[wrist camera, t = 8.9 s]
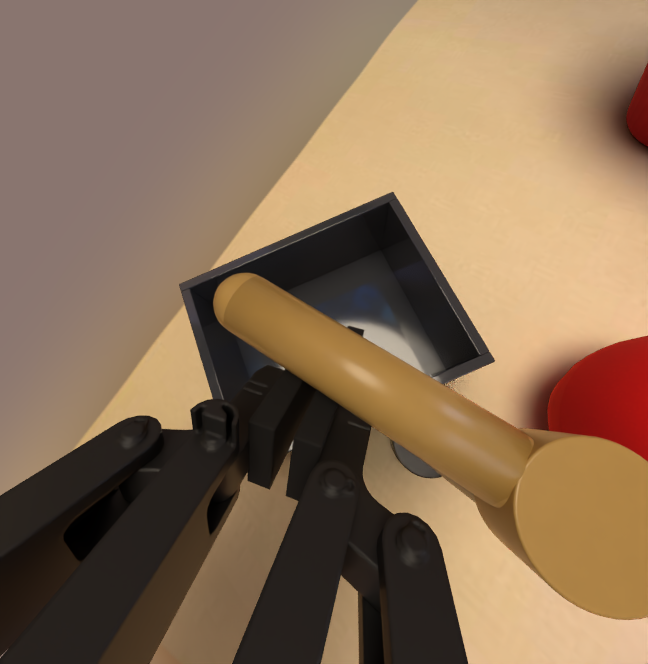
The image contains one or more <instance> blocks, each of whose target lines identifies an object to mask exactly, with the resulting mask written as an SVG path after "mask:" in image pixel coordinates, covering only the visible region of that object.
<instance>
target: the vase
mask: <svg viewBox="0 0 648 664" xmlns="http://www.w3.org/2000/svg"><path fill="white" fill-rule="evenodd" d="M626 120H627V125H628V128H629V130H630V132H631V133H632V135H633V136H634V137H635V138H636V139H637V140H638V141H639V142H641V143H642V144H644V145H645V146H647V147H648V63H647V66H646V68H645V70H644V72H643V75H642V77H641V79H640V82H639V84H638V86H637V89H636V91H635V93H634V96H633V98H632V100H631V103H630V105H629V108H628V111H627V116H626Z"/></svg>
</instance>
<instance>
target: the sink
mask: <svg viewBox="0 0 648 664" xmlns="http://www.w3.org/2000/svg"><path fill="white" fill-rule="evenodd" d="M238 273H252V274H256V275H258V276H260V277H262V278H264V279H266V280H268V281H269V282H271V283H273V284H274V285H276V286H278V287H279V288H281V289H283V290H284V291H286V292H288V293H289V294H291V295H293V296H295V297H296V298H298V299H300V300H301V301H303V302H305V303H306V304H308V305H310V306H311V307H313V308H315V309H317V310H318V311H320V312H322V313H323V314H325V315H327V316H328V317H330V318H332V319H333V320H335V321H337V322H338V323H340V324H342V325H344V326H345V327H348V325H349V326H352V327H356V328H360V329H363V330H365V331H364V335H363V337H364V338H365V339H367V340H369V341H371V342H372V343H374V344H376V345H377V346H379V347H381V348H382V349H384V350H386V351H387V352H389V353H391V354H392V355H394V356H396V357H398V358H399V359H401V360H403V361H404V362H406V363H408V364H409V365H411V366H413V367H414V368H416V369H418V370H420V371H421V372H423V373H425V374H426V375H428V376H430V377H431V378H433V379H435V380H436V381H438V382H440V383H441V384H445V383H448V382H450V381H452V380H454V379H457V378H459V377H461V376H464V375H466V374H468V373H470V372H473V371H475V370H477V369H479V368H482V367H484V366H486V365H489V364H491V363H493V362H495V360H494V358H493V357H492V355H491V353H490V352H489V350H488V348H487V346H486V345H485V343H484V341H483V340H482V338H481V336H480V335H479V333H478V331H477V330H476V328H475V326H474V325H473V323H472V321H471V320H470V318H469V316H468V315H467V313H466V311H465V310H464V308H463V307H462V305H461V303H460V302H459V300H458V298H457V297H456V295H455V293H454V292H453V290H452V288H451V287H450V285H449V283H448V282H447V280H446V278H445V277H444V275H443V273H442V272H441V270H440V268H439V267H438V265H437V263H436V262H435V260H434V258H433V257H432V255H431V254H430V252H429V250H428V249H427V247H426V245H425V244H424V242H423V240H422V239H421V237H420V235H419V234H418V232H417V230H416V229H415V227H414V225H413V224H412V222H411V220H410V219H409V217H408V215H407V214H406V212H405V210H404V209H403V207H402V205H401V204H400V202H399V201H398V199H397V197H396V196H395V194H394V192H391V193H389V194H386V195H384V196H382V197H379V198H377V199H375V200H372V201H370V202H368V203H366V204H363V205H361V206H359V207H356V208H354V209H352V210H349V211H347V212H345V213H342V214H340V215H338V216H335V217H333V218H331V219H329V220H326V221H324V222H322V223H319V224H317V225H315V226H312V227H310V228H308V229H305V230H303V231H301V232H299V233H296V234H294V235H292V236H289V237H287V238H285V239H282V240H280V241H278V242H275V243H273V244H271V245H269V246H266V247H264V248H262V249H259V250H257V251H255V252H252V253H250V254H248V255H245V256H243V257H241V258H238V259H236V260H234V261H232V262H229V263H227V264H225V265H222V266H220V267H218V268H215V269H213V270H211V271H209V272H206V273H204V274H202V275H199V276H197V277H195V278H192V279H190V280H188V281H185V282H183V283H181V284H179V286H180V289H181V293H182V296H183V300H184V303H185V306H186V310H187V313H188V317H189V320H190V323H191V327H192V330H193V333H194V337H195V340H196V343H197V347H198V350H199V353H200V357H201V360H202V363H203V367H204V370H205V373H206V377H207V380H208V383H209V387H210V390H211V393H212V397H213V399H223V400H227V401H229V402H231V400H232V399H233V398H234V397H235V396H236V394H237V393H238V392H239V391H240V390H241V389H242V388H243V386H244V385H245V384H246V383H247V382H248V381H249V379H250V378H251V377H252V376H253V374H254V373H255V372H256V371H257V370H259V369H261V368H263V367H265V366H267V365H269V366H273V367H276V368H279V369H282V370H285V368H283V367H282V366H280V365H279V364H277V363H276V362H274V361H273V360H271V359H270V358H268V357H267V356H265V355H264V354H262V353H261V352H259V351H258V350H256V349H255V348H253V347H252V346H250V345H249V344H247V343H246V342H244V341H243V340H241V339H240V338H238V337H237V336H235V335H234V334H232V333H231V332H229V331H228V330H227V329H226V328H224V327H223V326H222V325H221V324H220V322H219V321H218V319H217V317H216V315H215V313H214V307H213V300H214V295H215V292H216V290H217V288H218V287H219V285H220V284H221V283H222V282H223V281H224V280H225V279H227V278H228V277H230V276H232V275H235V274H238ZM292 446H293V442H292V444H291V446H290V448H289V450H288V452H291V451H292ZM288 452H287V453H288Z"/></svg>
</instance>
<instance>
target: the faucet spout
mask: <svg viewBox="0 0 648 664" xmlns="http://www.w3.org/2000/svg"><path fill="white" fill-rule="evenodd" d="M213 307H214V313H215V315H216V317H217V319H218V321H219V322H220V324H221V325H222V326H223V327H224V328H226V329H227V330H228V331H229V332H231V333H232V334H234V335H235V336H237V337H238V338H240V339H241V340H243V341H244V342H246V343H247V344H249V345H250V346H252V347H253V348H255V349H256V350H258V351H259V352H261V353H262V354H264V355H265V356H267V357H268V358H270V359H271V360H273V361H274V362H276V363H277V364H279V365H280V366H282V367H283V368H285V369H286V370H288V371H289V372H291V373H292V374H294V375H295V376H297V377H298V378H300V379H301V380H303V381H304V382H306V383H307V384H309V385H310V386H312V387H313V388H315V389H316V390H318V391H319V392H321V393H322V394H324V395H326V396H327V397H329V398H330V399H332V400H333V401H335V402H336V403H338V404H339V405H341V406H342V407H344V408H345V409H347V410H348V411H350V412H351V413H353V414H354V415H356V416H357V417H359V418H360V419H362V420H363V421H365V422H366V423H368V424H369V425H371V426H372V427H374V428H375V429H377V430H378V431H380V432H381V433H383V434H384V435H386V436H387V437H389V438H390V439H392V440H393V441H395V442H396V443H398V444H399V445H401V446H402V447H404V448H405V449H407V450H408V451H410V452H411V453H413V454H414V455H416V456H417V457H419V458H420V459H422V460H423V461H425V462H426V463H428V464H429V465H431V466H432V467H434V468H435V469H437V470H438V471H440V472H441V473H443V474H444V475H446V476H447V477H449V478H450V479H452V480H453V481H455V482H456V483H458V484H459V485H461V486H462V487H464V488H465V489H467V490H468V491H470V492H471V493H473V494H474V498H475V501H476V505H477V507H478V510H479V512H480V514H481V516H482V518H483V520H484V522H485V523H486V525H487V526H488V528H489V529H490V530H491V531H492V533H493V534H494V535H495V536H496V537H497V538H498V539H499V540H500V541H501V542H502V543H503V544H504V545H505V546H507V547H508V548H509V549H510V550H511V551H512V552H513V553H514V554H515V555H516V556H517V557H519V558H520V559H521V560H522V561H523V562H524V563H525V564H526V565H527V566H528V567H529V568H531V569H532V570H533V571H534V572H535V573H536V574H537V575H538V576H539V577H540V578H541V579H543V580H544V581H545V582H546V583H547V584H548V585H549V586H550V587H551V588H552V589H553V590H555V591H556V592H557V593H558V594H560V595H561V596H562V597H563V598H565V599H566V600H568V601H569V602H571V603H573V604H574V605H576V606H577V607H580V608H582V609H584V610H586V611H588V612H590V613H593V614H596V615H600V616H603V617H607V618H613V619H621V620H633V619H642V618H646V617H648V462H647V461H646V460H645V459H644V458H642V457H641V456H640V455H638V454H636V453H635V452H633V451H632V450H630V449H628V448H626V447H624V446H622V445H620V444H618V443H615V442H613V441H610V440H607V439H603V438H599V437H594V436H586V435H578V434H570V433H562V432H554V431H546V430H538V429H530V428H519V429H517V428H516V427H514V426H512V425H511V424H509V423H507V422H506V421H504V420H502V419H501V418H499V417H497V416H495V415H494V414H492V413H490V412H489V411H487V410H485V409H484V408H482V407H480V406H479V405H477V404H475V403H474V402H472V401H470V400H468V399H467V398H465V397H463V396H462V395H460V394H458V393H457V392H455V391H453V390H452V389H450V388H448V387H447V386H445V385H443V384H441V383H440V382H438V381H436V380H435V379H433V378H431V377H430V376H428V375H426V374H425V373H423V372H421V371H420V370H418V369H416V368H414V367H413V366H411V365H409V364H408V363H406V362H404V361H403V360H401V359H399V358H398V357H396V356H394V355H392V354H391V353H389V352H387V351H386V350H384V349H382V348H381V347H379V346H377V345H376V344H374V343H372V342H371V341H369V340H367V339H365V338H364V337H362V336H360V335H359V334H357V333H355V332H354V331H352V330H350V329H349V328H347V327H345V326H344V325H342V324H340V323H338V322H337V321H335V320H333V319H332V318H330V317H328V316H327V315H325V314H323V313H322V312H320V311H318V310H317V309H315V308H313V307H311V306H310V305H308V304H306V303H305V302H303V301H301V300H300V299H298V298H296V297H295V296H293V295H291V294H289V293H288V292H286V291H284V290H283V289H281V288H279V287H278V286H276V285H274V284H273V283H271V282H269V281H268V280H266V279H264V278H262V277H260V276H258V275H256V274H252V273H238V274H235V275H232V276H230V277H228V278H227V279H225V280H224V281H223V282H222V283H221V284H220V285H219V287H218V288H217V290H216V292H215V295H214V300H213Z"/></svg>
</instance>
